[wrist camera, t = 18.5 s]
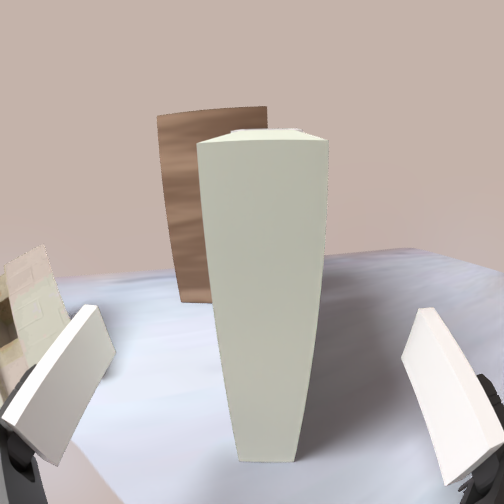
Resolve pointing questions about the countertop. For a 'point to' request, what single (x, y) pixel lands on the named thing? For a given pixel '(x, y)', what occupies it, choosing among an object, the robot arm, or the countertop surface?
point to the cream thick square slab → (265, 276)
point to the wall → (27, 316)
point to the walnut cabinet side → (193, 186)
